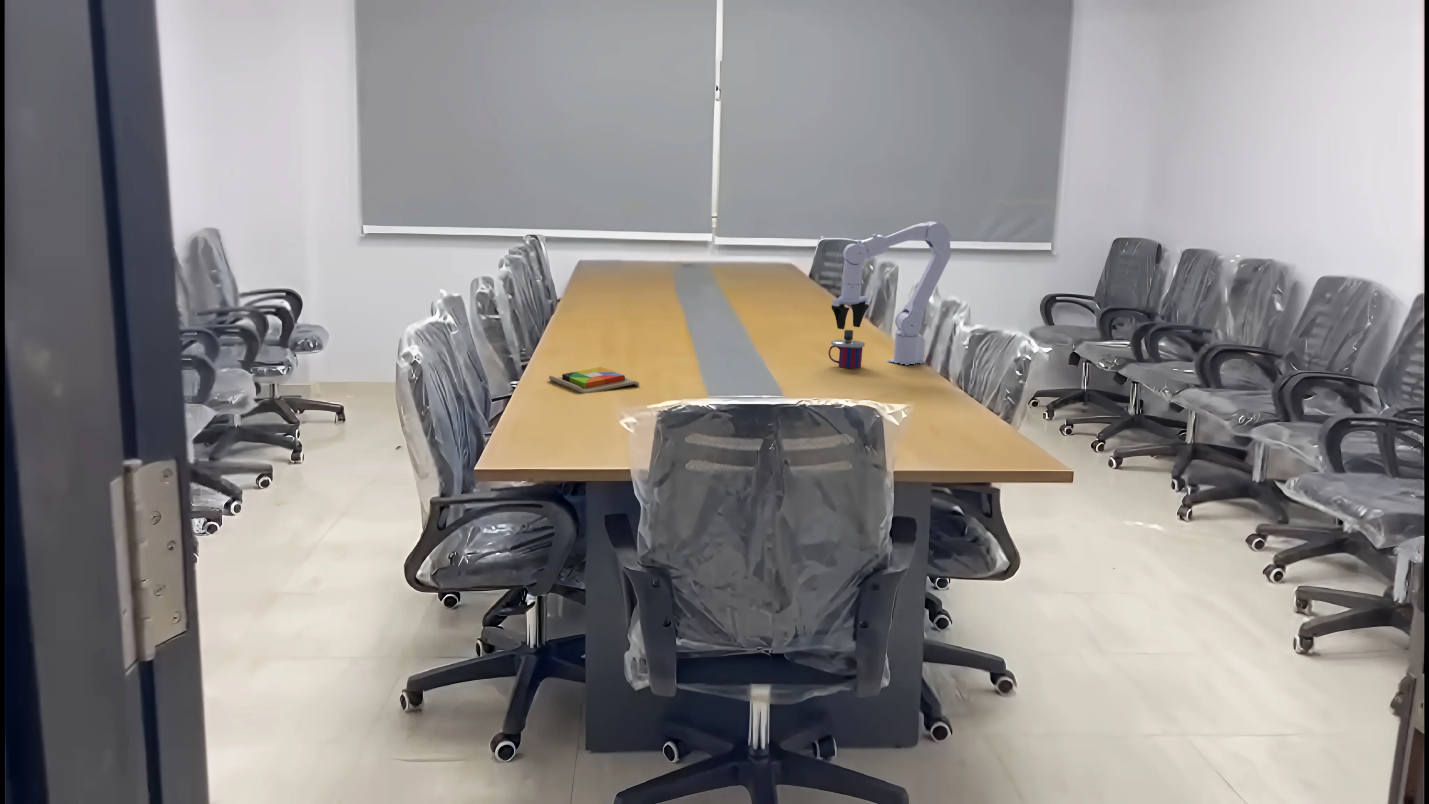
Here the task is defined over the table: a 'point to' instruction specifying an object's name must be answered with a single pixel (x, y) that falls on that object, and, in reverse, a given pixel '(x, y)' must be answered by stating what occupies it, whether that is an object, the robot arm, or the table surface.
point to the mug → (848, 357)
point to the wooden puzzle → (593, 380)
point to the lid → (848, 341)
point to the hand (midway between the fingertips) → (848, 327)
